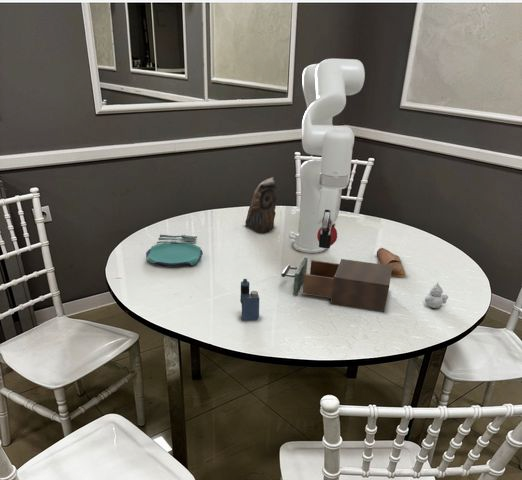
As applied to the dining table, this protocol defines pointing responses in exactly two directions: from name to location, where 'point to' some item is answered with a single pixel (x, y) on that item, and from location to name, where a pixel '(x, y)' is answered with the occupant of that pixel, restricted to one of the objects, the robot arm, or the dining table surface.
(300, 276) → the drawer
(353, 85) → the robot arm
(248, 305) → the vaping device
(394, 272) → the sunglasses case
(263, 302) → the dining table surface
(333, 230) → the onion
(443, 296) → the grey lumpy piece
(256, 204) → the owl
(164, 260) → the cutlery set
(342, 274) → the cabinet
